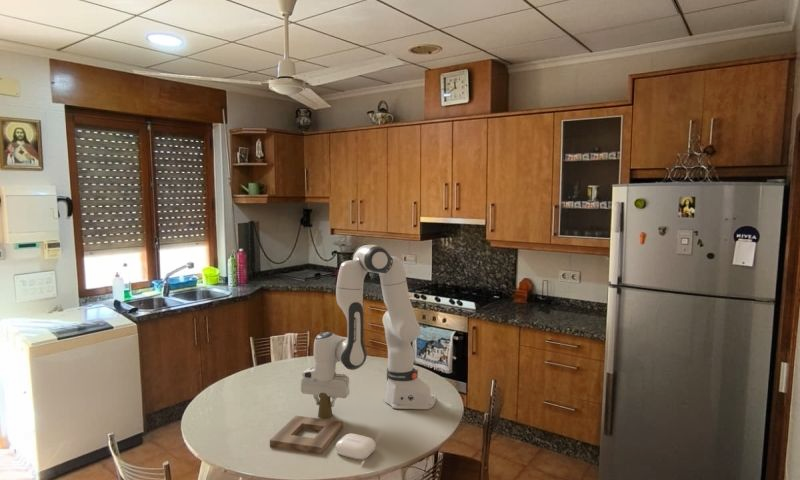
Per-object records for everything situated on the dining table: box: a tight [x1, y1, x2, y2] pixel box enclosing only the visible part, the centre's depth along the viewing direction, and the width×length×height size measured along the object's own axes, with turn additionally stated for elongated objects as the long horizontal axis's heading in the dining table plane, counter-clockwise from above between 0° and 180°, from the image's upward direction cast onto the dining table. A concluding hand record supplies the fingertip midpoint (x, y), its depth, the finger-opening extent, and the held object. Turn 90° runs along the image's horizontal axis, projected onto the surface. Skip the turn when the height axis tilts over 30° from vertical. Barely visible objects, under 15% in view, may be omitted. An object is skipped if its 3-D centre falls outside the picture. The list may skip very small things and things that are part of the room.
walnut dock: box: [269, 415, 344, 455], centre depth 176 cm, size 20×20×3 cm
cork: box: [317, 393, 333, 420], centre depth 194 cm, size 6×6×11 cm
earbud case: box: [335, 433, 377, 460], centre depth 166 cm, size 10×13×5 cm
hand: (325, 405), depth 194 cm, fingers closed on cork, 4 cm apart
